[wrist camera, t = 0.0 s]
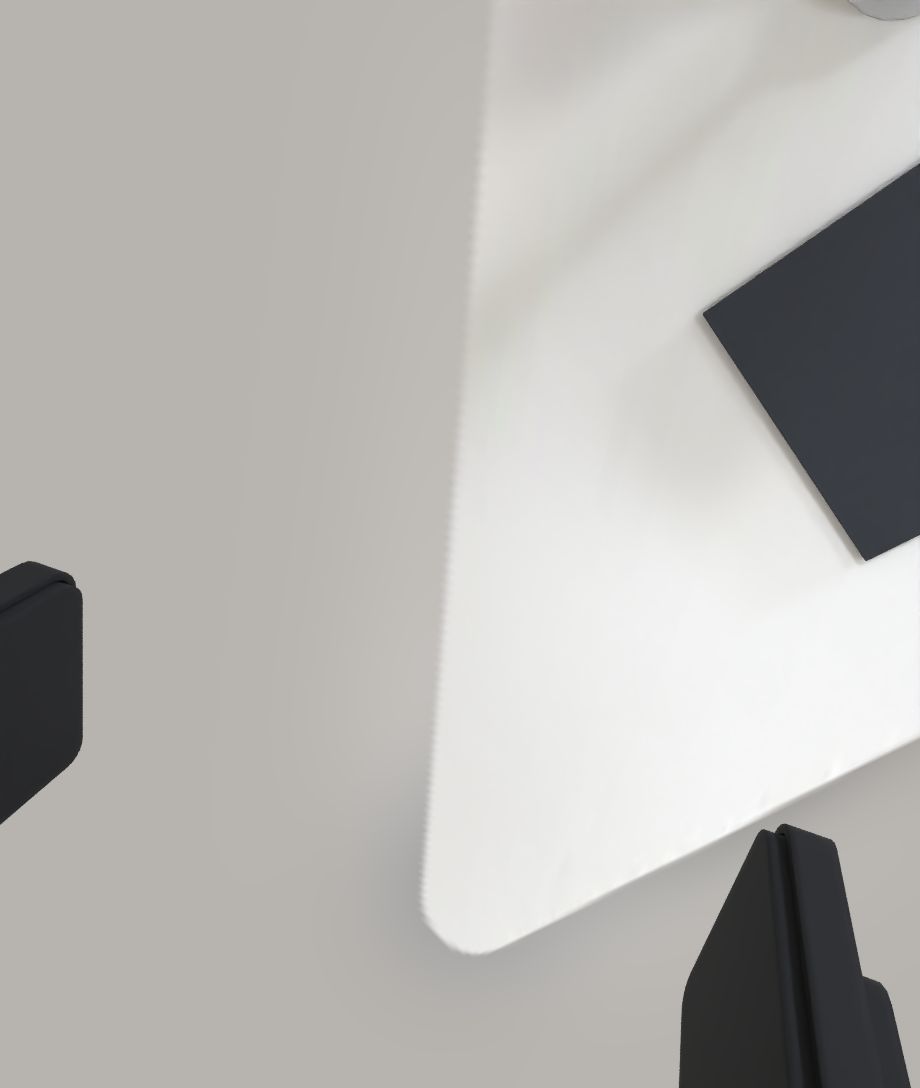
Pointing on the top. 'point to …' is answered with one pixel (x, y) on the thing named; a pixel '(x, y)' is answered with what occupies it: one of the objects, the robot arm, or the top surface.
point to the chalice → (888, 8)
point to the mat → (844, 361)
